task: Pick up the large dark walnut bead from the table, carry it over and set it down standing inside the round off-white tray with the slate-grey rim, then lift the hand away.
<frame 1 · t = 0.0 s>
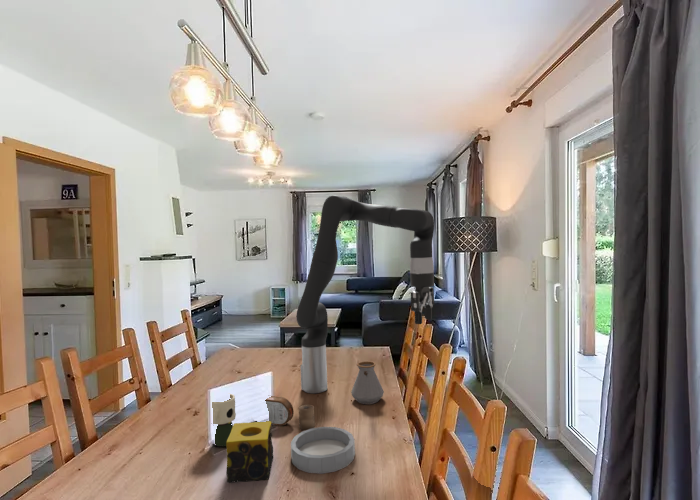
hand: (423, 321, 129), 29 cm above the table, tool pointing down, fingers open, 8 cm apart
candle: (251, 471, 99), on the table
walnut bead: (307, 427, 122), on the table
coffee pot: (367, 406, 136), on the table
tin: (270, 424, 125), on the table
round tray: (323, 455, 105), on the table
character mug: (223, 444, 113), on the table
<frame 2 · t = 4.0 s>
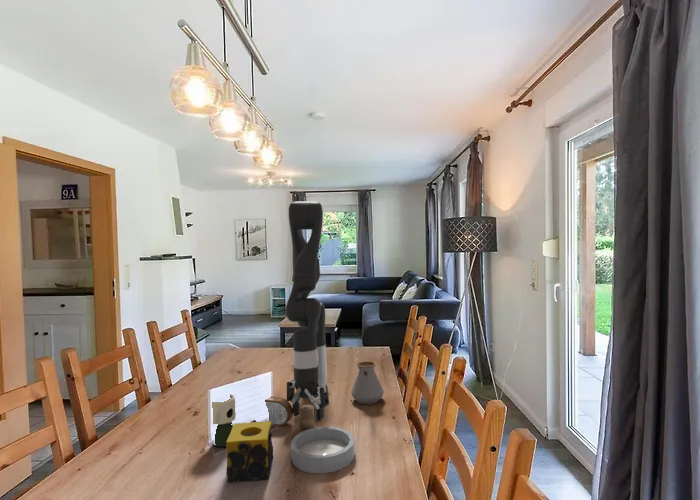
hand: (308, 418, 121), 3 cm above the table, tool pointing down, fingers open, 8 cm apart
tin: (270, 424, 125), on the table, touching gripper
everything else where it was.
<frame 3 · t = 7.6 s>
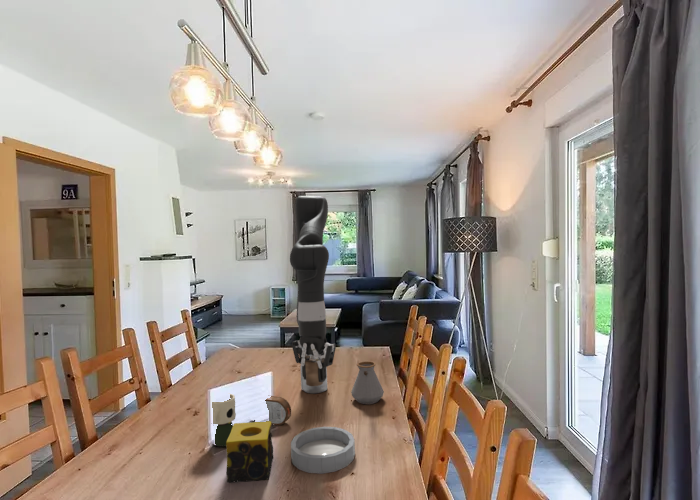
hand: (314, 379, 109), 18 cm above the table, tool pointing down, fingers closed on walnut bead, 4 cm apart
walnut bead: (314, 383, 109), point 17 cm above the table, touching gripper
tin: (268, 423, 126), on the table
everything else where it was.
when the fingers open (3 cm above the table, at t = 10.5 s): walnut bead stays where it is, resting on round tray.
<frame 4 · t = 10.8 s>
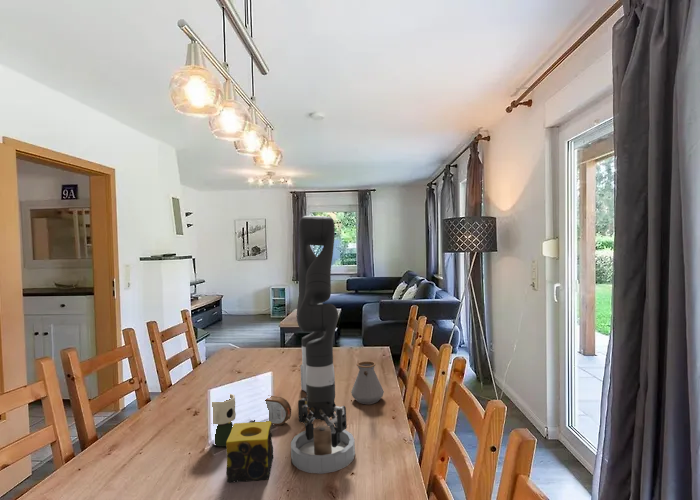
hand: (322, 442, 105), 3 cm above the table, tool pointing down, fingers open, 7 cm apart
walnut bead: (323, 452, 105), point 1 cm above the table, touching round tray
everything else where it was.
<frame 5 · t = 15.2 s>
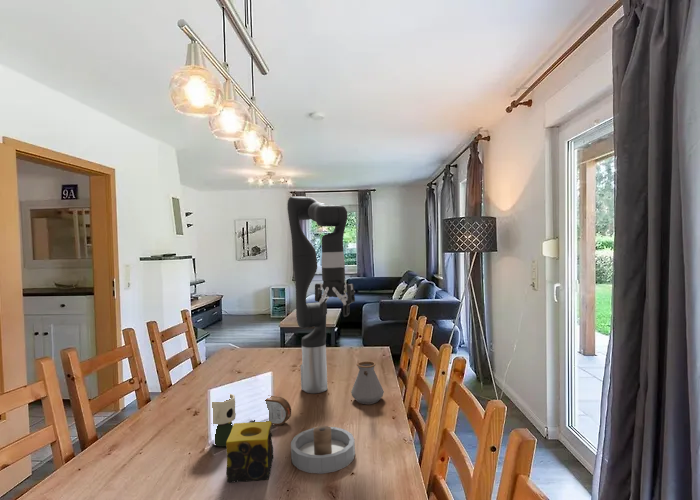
hand: (335, 315, 131), 32 cm above the table, tool pointing down, fingers open, 8 cm apart
nothing on the table moved.
at the end: walnut bead inside the target area on the round tray (0.1 cm from its centre), point 0.8 cm above the round tray's base; walnut bead tilted 0°; the gripper is holding nothing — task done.
